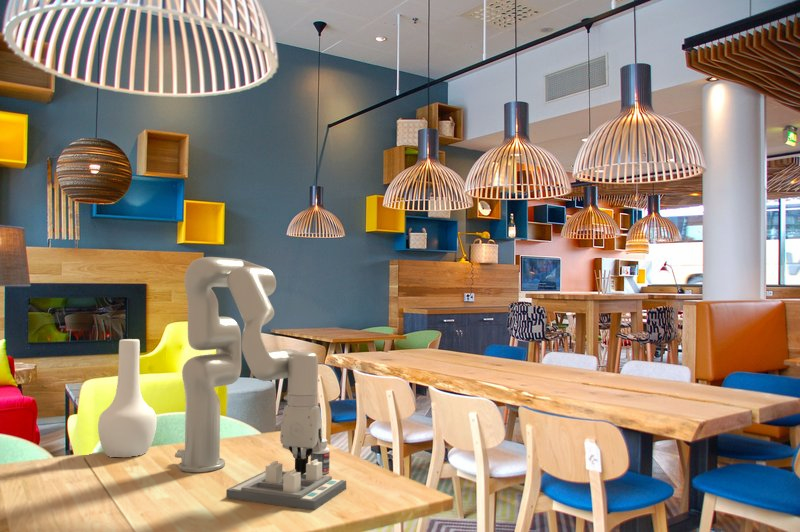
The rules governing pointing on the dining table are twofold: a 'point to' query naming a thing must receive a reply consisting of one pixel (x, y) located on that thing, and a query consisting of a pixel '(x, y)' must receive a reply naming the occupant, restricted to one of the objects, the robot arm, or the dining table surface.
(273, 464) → the tab
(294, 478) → the tab
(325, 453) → the pill bottle
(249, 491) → the switch bank
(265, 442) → the dining table surface
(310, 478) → the tab
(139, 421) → the vase
